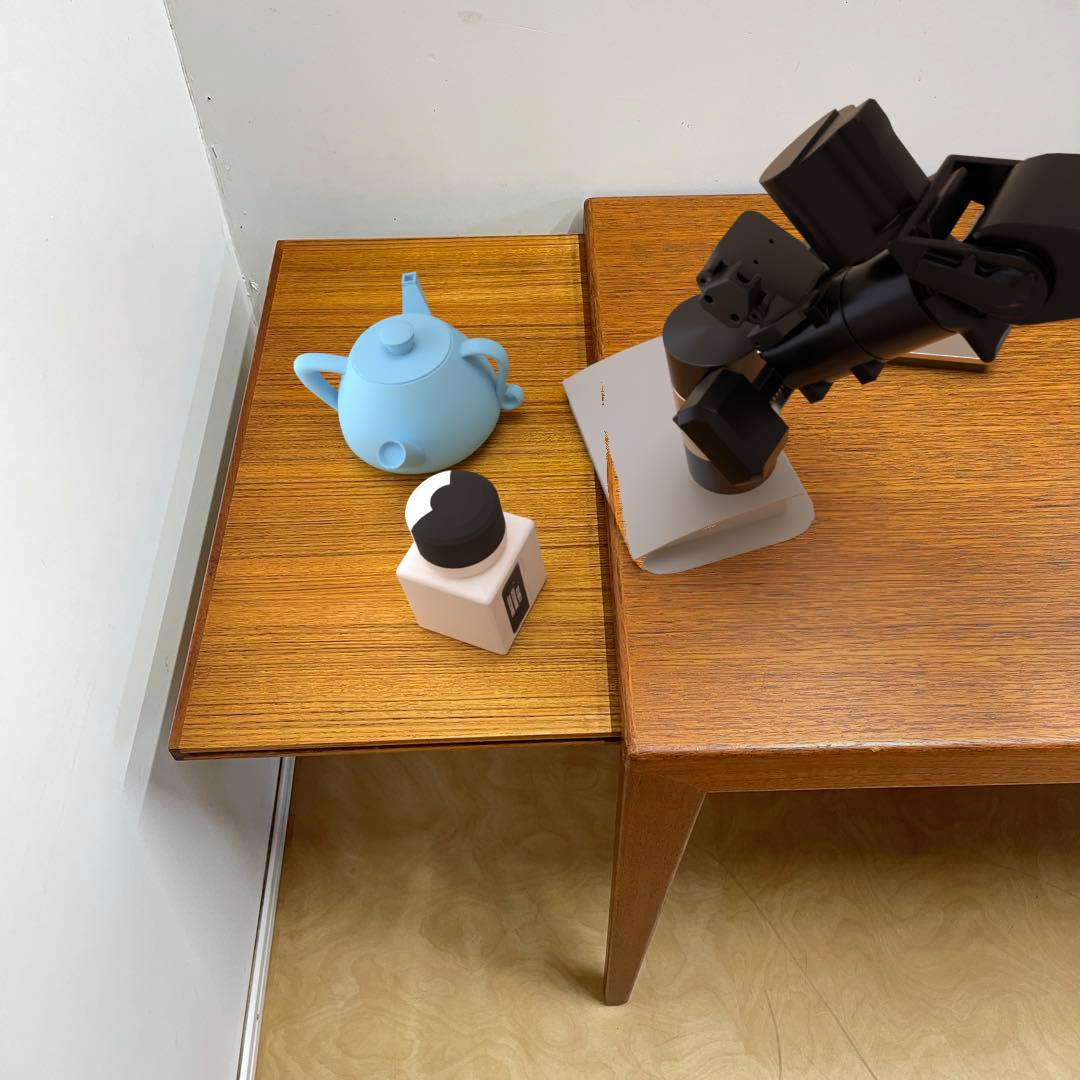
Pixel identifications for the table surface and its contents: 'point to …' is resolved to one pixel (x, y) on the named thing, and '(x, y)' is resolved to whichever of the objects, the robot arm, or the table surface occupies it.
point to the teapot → (414, 389)
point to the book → (673, 470)
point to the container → (469, 561)
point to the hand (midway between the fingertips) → (702, 388)
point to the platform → (944, 356)
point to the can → (689, 354)
